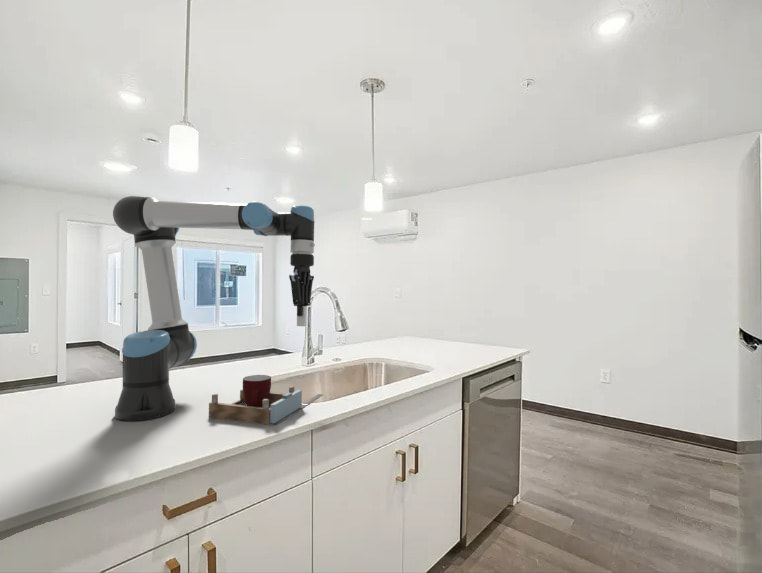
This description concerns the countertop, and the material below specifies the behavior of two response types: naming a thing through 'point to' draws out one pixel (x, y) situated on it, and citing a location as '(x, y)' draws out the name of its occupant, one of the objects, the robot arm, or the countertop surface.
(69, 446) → the countertop surface
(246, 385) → the mug
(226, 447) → the countertop surface
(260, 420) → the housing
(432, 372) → the countertop surface
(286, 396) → the gate
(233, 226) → the robot arm
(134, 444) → the countertop surface
